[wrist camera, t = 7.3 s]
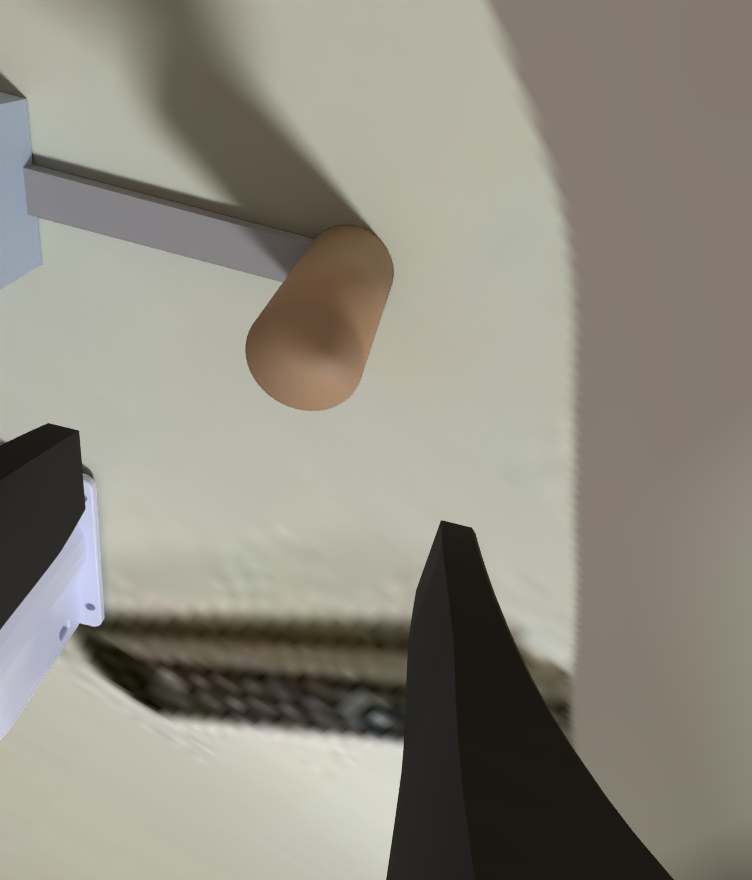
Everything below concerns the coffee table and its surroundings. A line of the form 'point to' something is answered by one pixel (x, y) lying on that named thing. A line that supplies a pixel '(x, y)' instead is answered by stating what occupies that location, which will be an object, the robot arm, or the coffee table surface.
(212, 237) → the block with pull
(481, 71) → the coffee table surface
